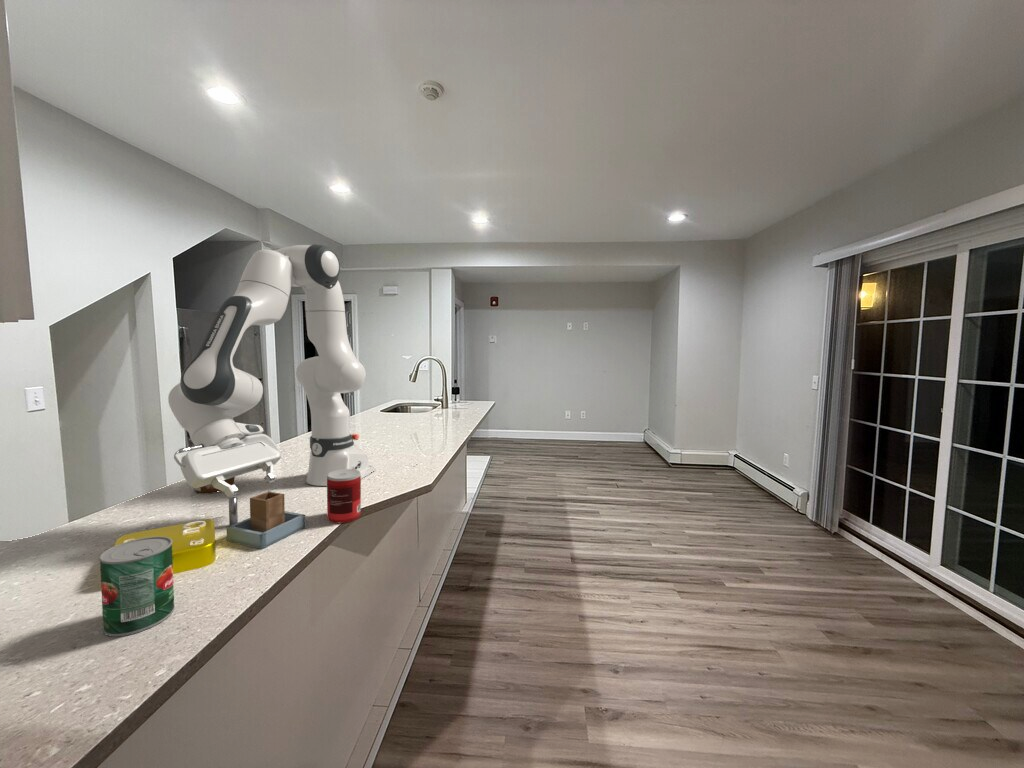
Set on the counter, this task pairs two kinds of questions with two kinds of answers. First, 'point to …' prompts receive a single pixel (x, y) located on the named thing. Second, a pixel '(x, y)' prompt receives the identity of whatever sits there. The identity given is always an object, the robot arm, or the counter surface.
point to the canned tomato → (136, 585)
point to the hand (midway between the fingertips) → (254, 487)
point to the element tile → (184, 543)
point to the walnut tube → (266, 511)
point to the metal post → (233, 511)
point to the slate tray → (262, 540)
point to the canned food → (343, 495)
